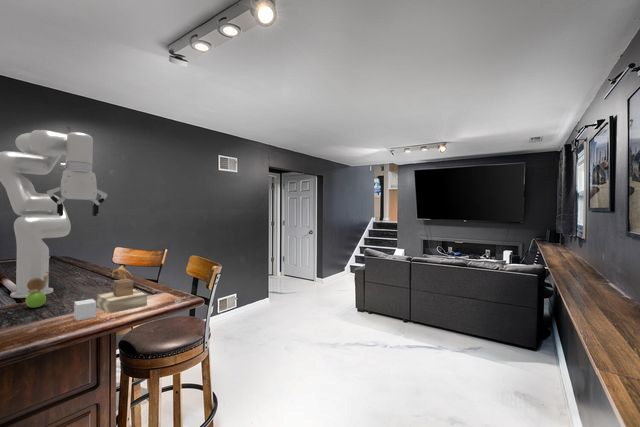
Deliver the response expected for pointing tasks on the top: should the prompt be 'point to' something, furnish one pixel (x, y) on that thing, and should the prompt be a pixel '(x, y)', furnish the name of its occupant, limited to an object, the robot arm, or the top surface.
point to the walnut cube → (123, 287)
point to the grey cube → (84, 309)
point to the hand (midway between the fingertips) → (78, 215)
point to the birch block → (121, 301)
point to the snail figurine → (36, 292)
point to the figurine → (120, 272)
